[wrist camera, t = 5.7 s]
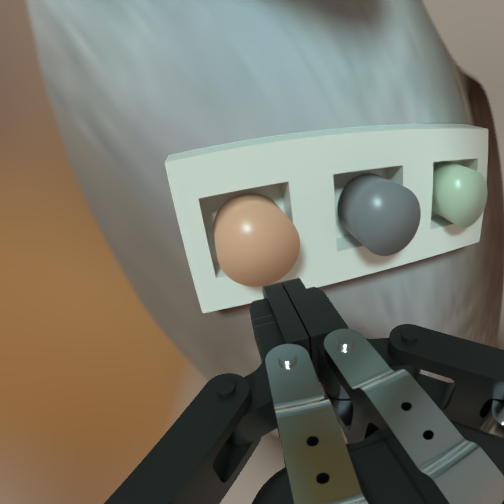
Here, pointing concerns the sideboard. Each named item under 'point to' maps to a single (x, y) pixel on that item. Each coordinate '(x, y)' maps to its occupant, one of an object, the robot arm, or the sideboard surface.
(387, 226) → the charcoal button
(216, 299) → the button board
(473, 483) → the robot arm
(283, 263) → the terracotta button
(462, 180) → the sage button
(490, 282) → the sideboard surface
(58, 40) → the sideboard surface
